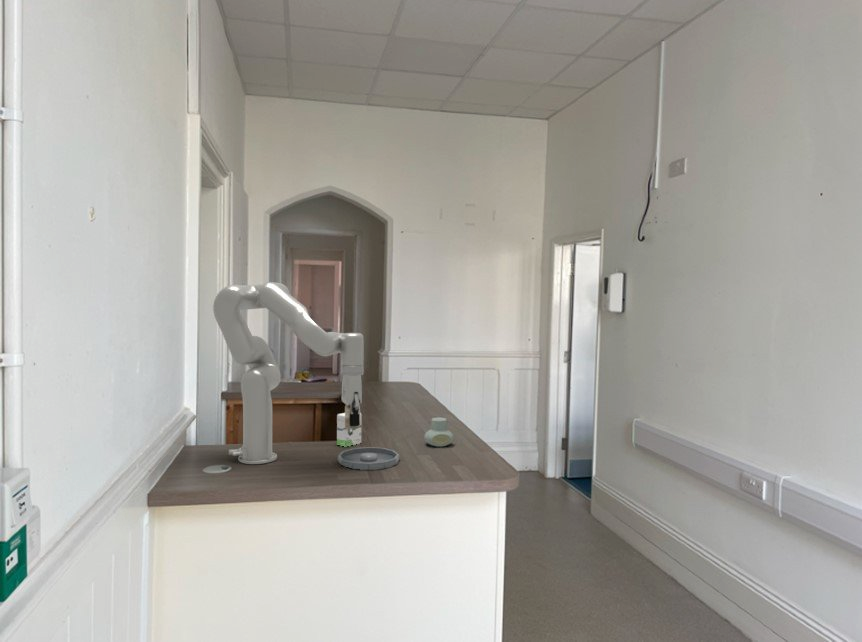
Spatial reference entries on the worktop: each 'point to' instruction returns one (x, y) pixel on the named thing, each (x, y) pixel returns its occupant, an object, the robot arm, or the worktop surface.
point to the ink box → (347, 432)
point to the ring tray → (368, 458)
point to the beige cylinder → (347, 418)
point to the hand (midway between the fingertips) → (352, 423)
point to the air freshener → (438, 433)
